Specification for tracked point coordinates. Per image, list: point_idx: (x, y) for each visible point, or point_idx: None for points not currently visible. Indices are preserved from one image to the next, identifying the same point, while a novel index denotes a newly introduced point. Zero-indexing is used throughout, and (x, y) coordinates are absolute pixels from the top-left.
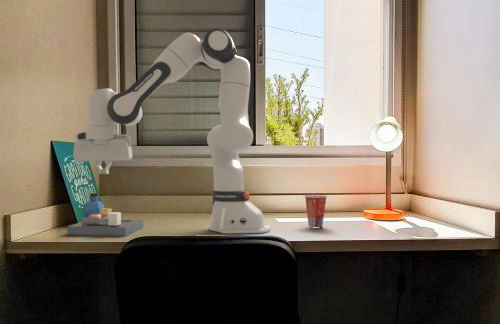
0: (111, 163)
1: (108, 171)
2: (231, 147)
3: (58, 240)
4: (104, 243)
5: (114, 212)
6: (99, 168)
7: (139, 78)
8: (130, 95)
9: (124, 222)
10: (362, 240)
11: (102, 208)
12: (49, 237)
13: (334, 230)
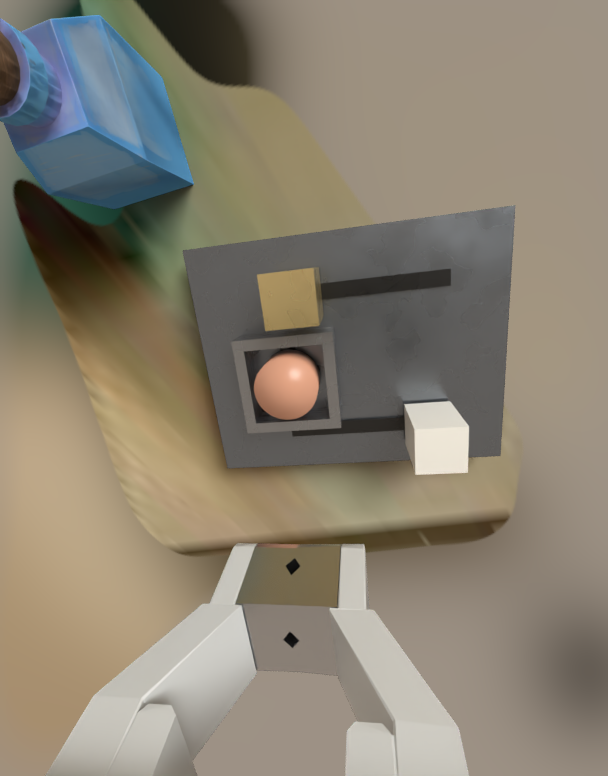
0: (462, 755)
1: (366, 577)
2: None
3: (270, 522)
4: (454, 541)
5: (430, 435)
6: (241, 683)
7: None
8: None
9: (435, 331)
10: None
11: (123, 77)
12: (204, 488)
13: None
